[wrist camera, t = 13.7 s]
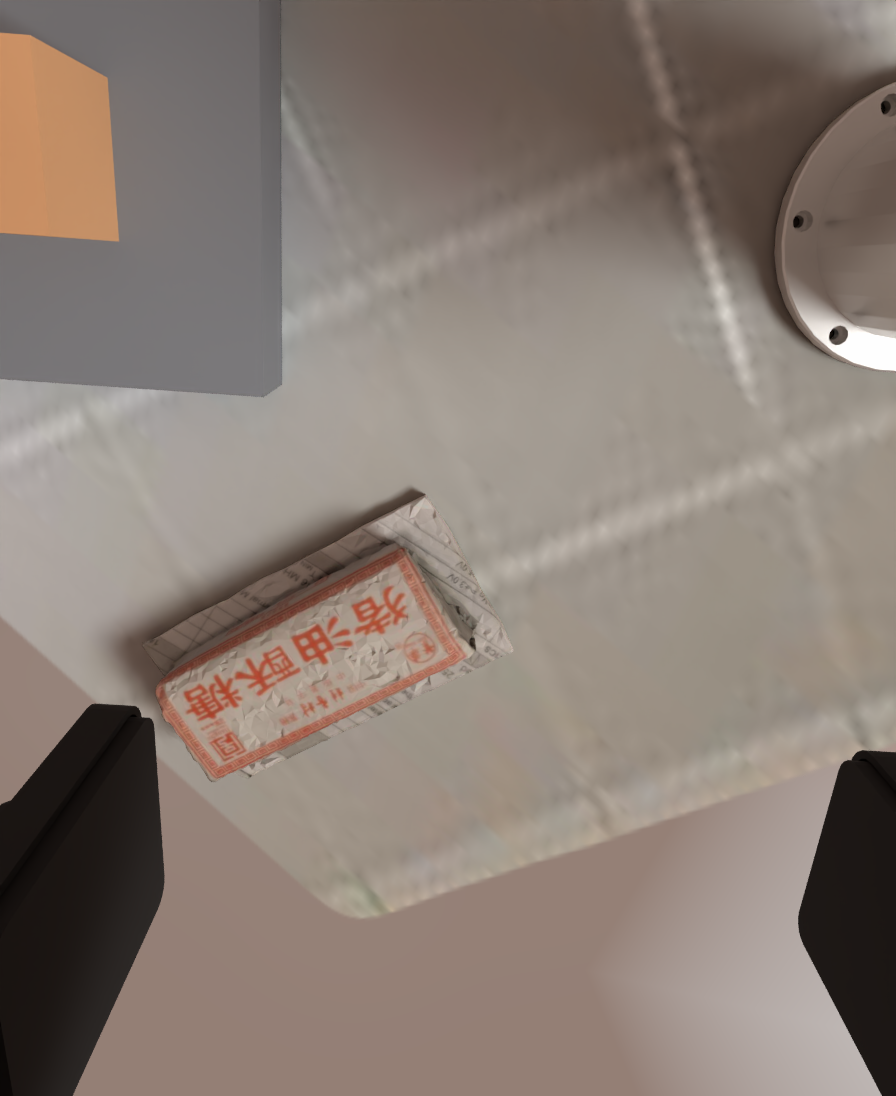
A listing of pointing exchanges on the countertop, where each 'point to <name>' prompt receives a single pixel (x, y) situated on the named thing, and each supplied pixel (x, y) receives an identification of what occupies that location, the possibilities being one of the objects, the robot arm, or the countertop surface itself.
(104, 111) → the cube
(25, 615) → the countertop surface
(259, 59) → the plinth
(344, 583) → the packaged product
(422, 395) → the countertop surface
